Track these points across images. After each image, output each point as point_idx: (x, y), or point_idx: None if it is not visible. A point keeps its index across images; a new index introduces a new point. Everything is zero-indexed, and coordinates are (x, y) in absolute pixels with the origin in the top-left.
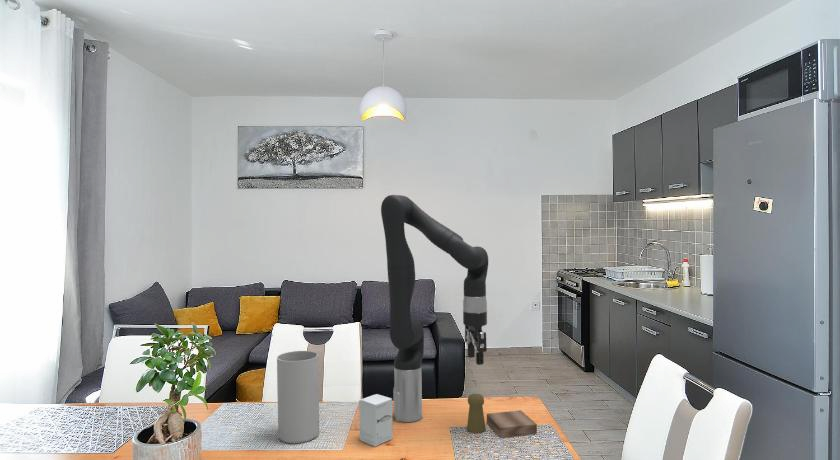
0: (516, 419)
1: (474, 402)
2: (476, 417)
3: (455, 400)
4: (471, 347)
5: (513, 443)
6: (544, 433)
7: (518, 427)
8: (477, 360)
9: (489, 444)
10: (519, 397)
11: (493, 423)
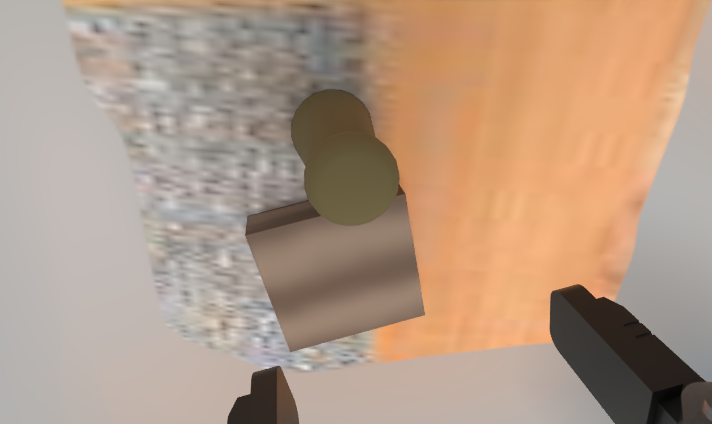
0: (336, 296)
1: (306, 170)
2: (303, 151)
3: (666, 60)
4: (628, 408)
5: (202, 255)
6: None
7: (269, 295)
8: (254, 413)
9: (180, 172)
10: None
11: None
